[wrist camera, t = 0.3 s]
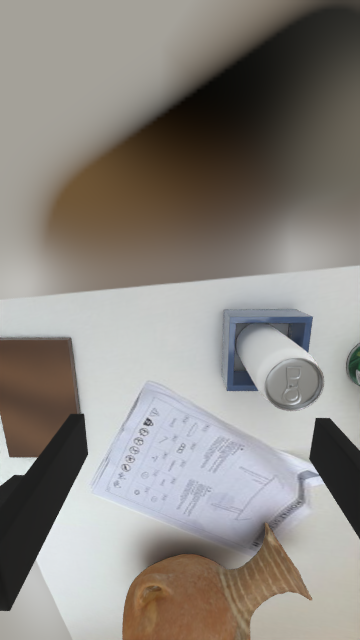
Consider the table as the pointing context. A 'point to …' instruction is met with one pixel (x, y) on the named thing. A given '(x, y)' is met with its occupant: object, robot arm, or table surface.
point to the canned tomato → (354, 365)
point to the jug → (206, 595)
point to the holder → (295, 318)
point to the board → (35, 391)
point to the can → (279, 367)
